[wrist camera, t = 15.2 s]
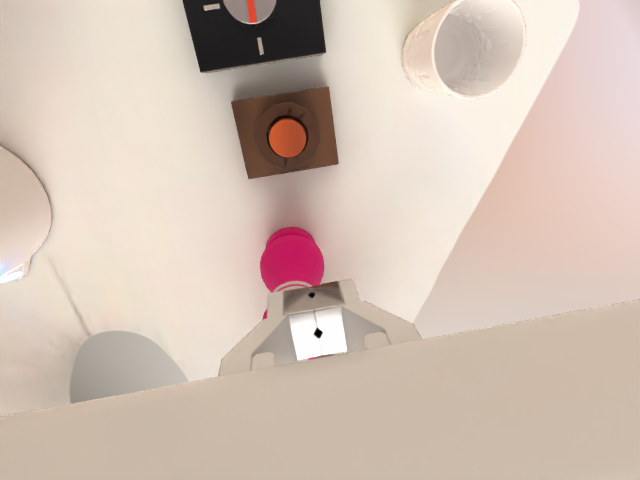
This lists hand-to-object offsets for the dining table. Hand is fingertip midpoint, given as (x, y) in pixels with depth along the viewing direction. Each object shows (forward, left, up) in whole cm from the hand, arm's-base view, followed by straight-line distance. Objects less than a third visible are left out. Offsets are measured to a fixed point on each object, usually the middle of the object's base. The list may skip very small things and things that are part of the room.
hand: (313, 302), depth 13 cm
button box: (0, +2, -31) cm, 31 cm away
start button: (0, +2, -28) cm, 28 cm away
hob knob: (-1, +14, -28) cm, 31 cm away
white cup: (+16, +7, -31) cm, 36 cm away
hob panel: (-1, +14, -31) cm, 34 cm away
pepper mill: (-2, -12, -31) cm, 34 cm away
